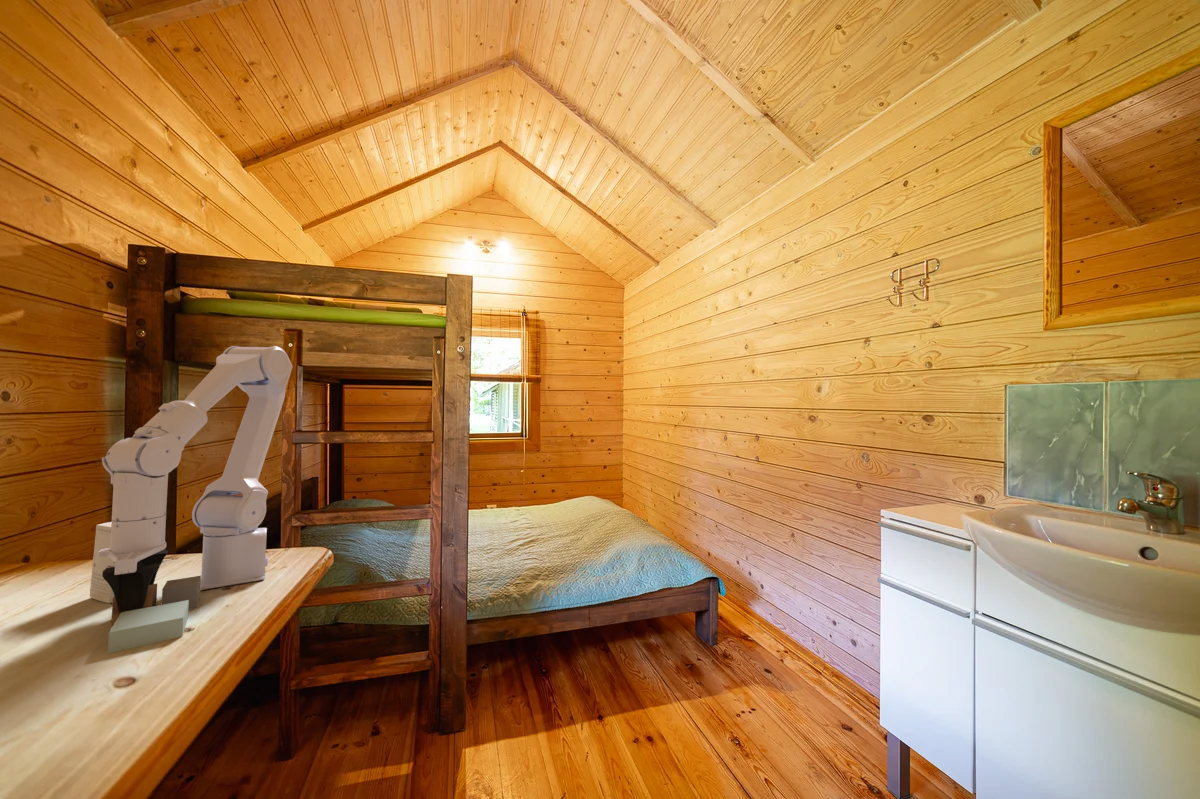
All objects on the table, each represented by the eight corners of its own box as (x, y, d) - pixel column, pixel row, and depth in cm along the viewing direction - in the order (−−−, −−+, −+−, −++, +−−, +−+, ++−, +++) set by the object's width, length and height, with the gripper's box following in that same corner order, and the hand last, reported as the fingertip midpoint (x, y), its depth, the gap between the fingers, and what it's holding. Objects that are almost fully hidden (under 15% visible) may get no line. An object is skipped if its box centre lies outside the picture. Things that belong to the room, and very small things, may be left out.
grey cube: (199, 600, 73) (200, 575, 73) (196, 608, 69) (197, 583, 70) (166, 606, 70) (167, 580, 70) (161, 615, 67) (162, 589, 67)
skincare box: (87, 598, 72) (91, 524, 72) (124, 588, 76) (127, 518, 77) (110, 604, 70) (114, 528, 70) (146, 593, 74) (150, 521, 75)
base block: (187, 619, 66) (188, 599, 66) (182, 639, 61) (183, 617, 61) (120, 633, 62) (121, 612, 62) (107, 656, 56) (108, 632, 57)
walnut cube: (155, 609, 69) (157, 583, 69) (150, 619, 66) (151, 592, 66) (118, 615, 66) (120, 589, 67) (111, 626, 63) (112, 598, 63)
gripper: (114, 510, 70) (110, 597, 69) (83, 531, 58) (77, 635, 58) (175, 506, 74) (171, 587, 74) (158, 524, 62) (153, 621, 62)
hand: (135, 607), depth 66 cm, fingers closed on walnut cube, 4 cm apart
